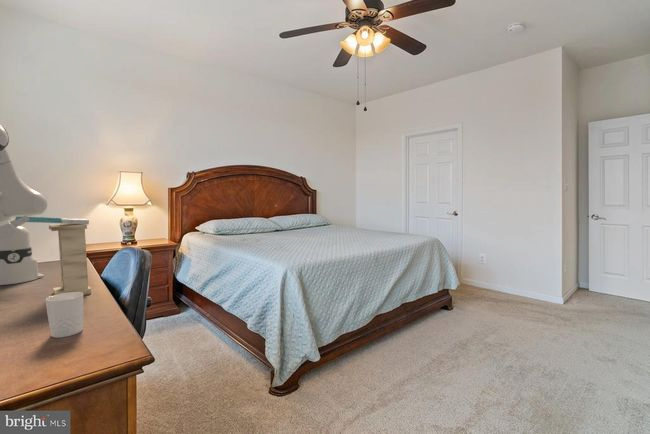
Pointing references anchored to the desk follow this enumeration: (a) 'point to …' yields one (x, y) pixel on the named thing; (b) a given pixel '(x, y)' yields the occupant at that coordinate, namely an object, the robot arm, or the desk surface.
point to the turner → (55, 220)
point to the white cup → (65, 314)
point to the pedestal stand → (72, 258)
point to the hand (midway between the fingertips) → (28, 217)
